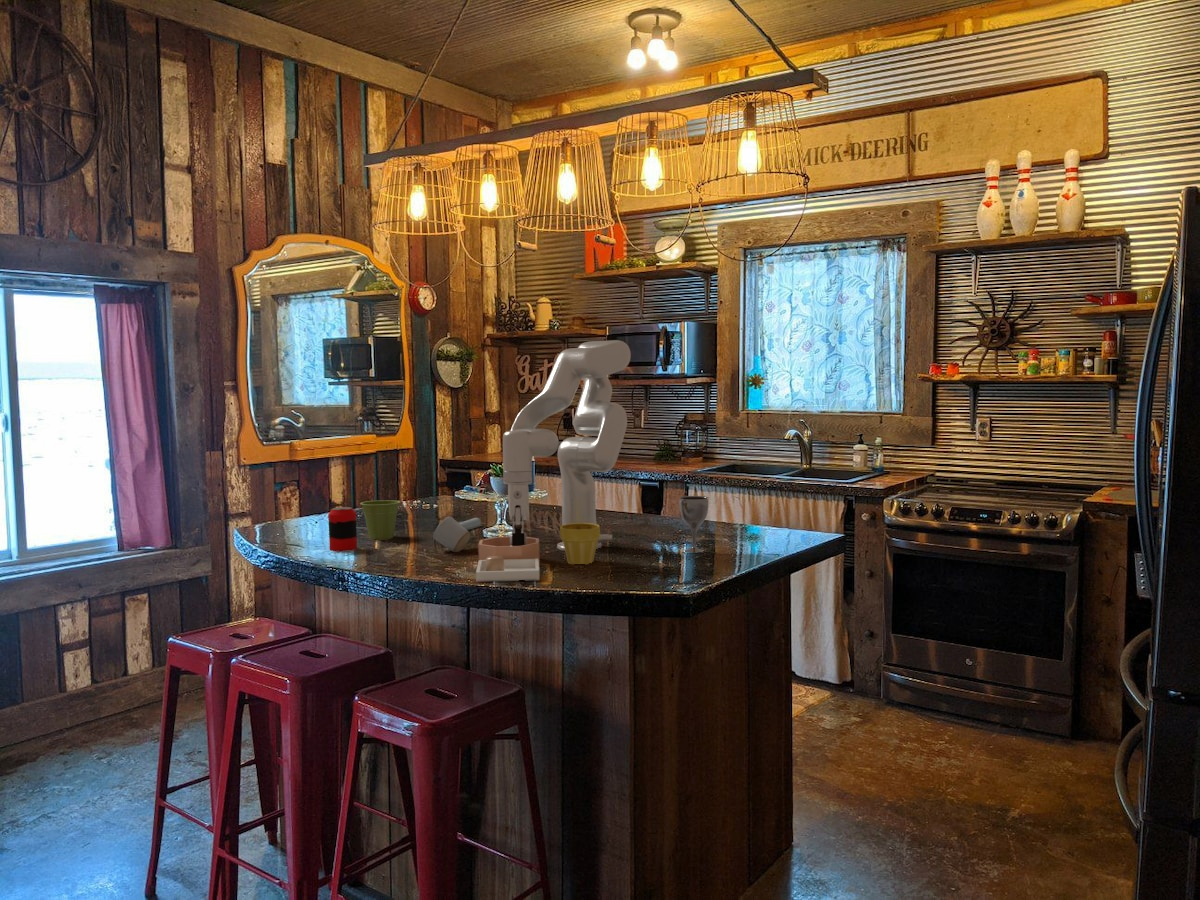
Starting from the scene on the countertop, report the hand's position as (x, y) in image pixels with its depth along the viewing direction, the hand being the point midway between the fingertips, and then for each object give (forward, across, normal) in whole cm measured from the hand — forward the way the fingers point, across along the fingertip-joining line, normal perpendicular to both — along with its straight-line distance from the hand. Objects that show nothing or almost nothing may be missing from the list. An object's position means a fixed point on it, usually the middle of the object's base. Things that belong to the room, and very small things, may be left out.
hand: (518, 546), depth 247 cm
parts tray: (+4, -16, +2) cm, 17 cm away
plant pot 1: (+4, +43, +42) cm, 60 cm away
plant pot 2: (+4, -3, -16) cm, 17 cm away
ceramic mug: (+4, +19, +18) cm, 26 cm away
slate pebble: (+1, 0, 0) cm, 1 cm away
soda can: (+5, +25, +50) cm, 56 cm away
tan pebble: (+4, -16, +6) cm, 18 cm away
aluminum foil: (+5, +53, +20) cm, 57 cm away
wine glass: (+4, +8, -48) cm, 49 cm away
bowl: (+4, 0, +2) cm, 5 cm away
